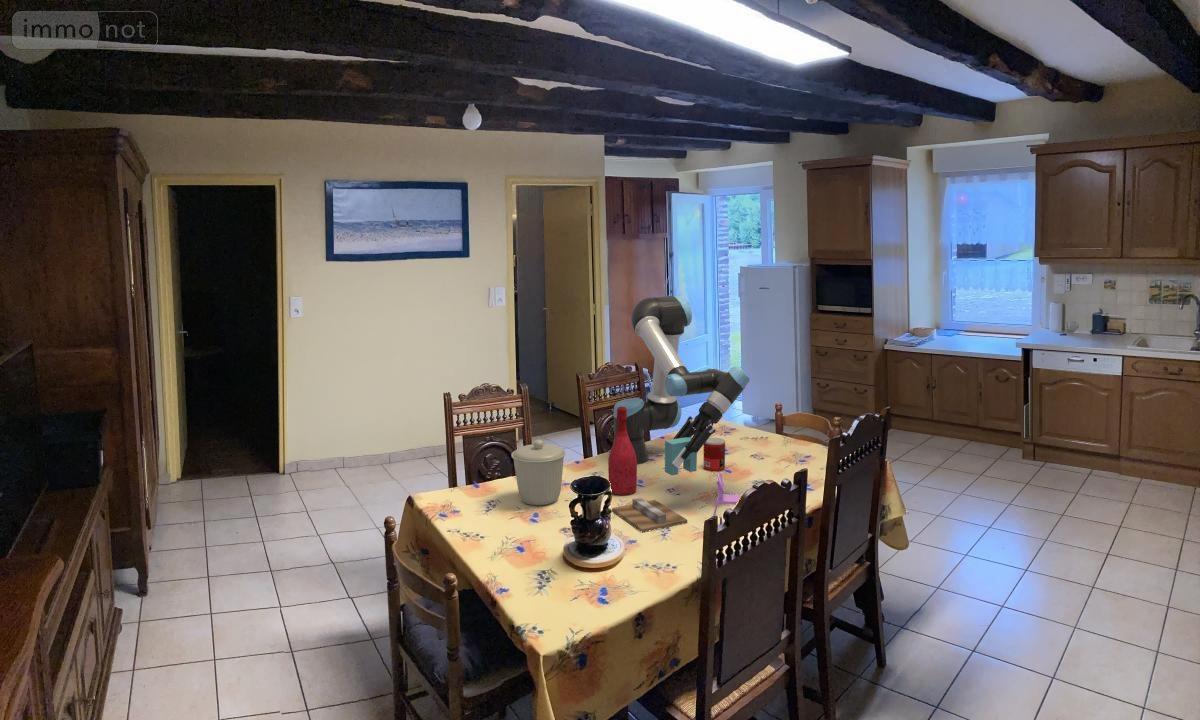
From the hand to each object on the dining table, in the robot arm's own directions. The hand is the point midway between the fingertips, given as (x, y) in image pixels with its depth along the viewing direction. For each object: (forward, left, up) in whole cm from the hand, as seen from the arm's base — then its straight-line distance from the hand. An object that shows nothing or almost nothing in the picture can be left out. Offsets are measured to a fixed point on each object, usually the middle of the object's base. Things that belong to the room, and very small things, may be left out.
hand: (670, 463), depth 254 cm
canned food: (-13, +42, -15) cm, 46 cm away
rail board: (0, -11, -15) cm, 19 cm away
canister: (-37, -24, -15) cm, 47 cm away
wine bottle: (-22, +1, -15) cm, 26 cm away
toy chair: (+20, +3, -15) cm, 25 cm away
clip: (+1, +4, -3) cm, 5 cm away
